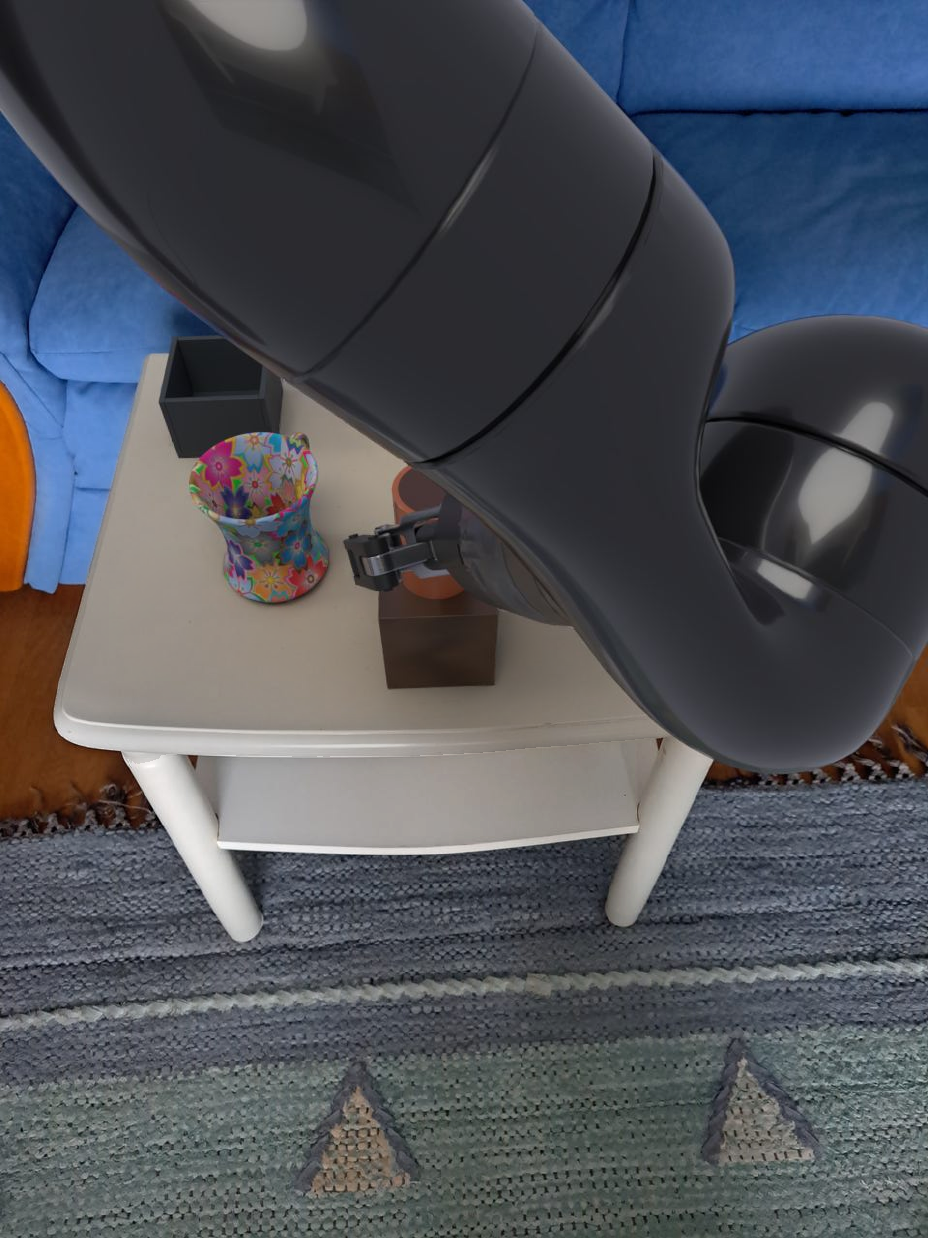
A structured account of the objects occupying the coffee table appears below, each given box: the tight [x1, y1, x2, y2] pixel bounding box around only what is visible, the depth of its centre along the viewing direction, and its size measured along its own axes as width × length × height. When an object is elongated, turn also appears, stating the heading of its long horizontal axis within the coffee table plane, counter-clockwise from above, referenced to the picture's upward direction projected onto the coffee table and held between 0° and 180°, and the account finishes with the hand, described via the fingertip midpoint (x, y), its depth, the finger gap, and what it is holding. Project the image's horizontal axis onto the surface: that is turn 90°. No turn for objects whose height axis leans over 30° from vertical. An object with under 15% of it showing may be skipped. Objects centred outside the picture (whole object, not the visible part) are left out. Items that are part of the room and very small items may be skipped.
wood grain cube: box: [377, 581, 499, 690], centre depth 64 cm, size 8×8×9 cm
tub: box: [158, 334, 284, 459], centre depth 79 cm, size 9×9×6 cm
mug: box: [188, 431, 329, 603], centre depth 68 cm, size 12×9×11 cm
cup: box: [391, 465, 464, 600], centre depth 57 cm, size 5×5×8 cm
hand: (452, 524), depth 52 cm, fingers open, 8 cm apart
